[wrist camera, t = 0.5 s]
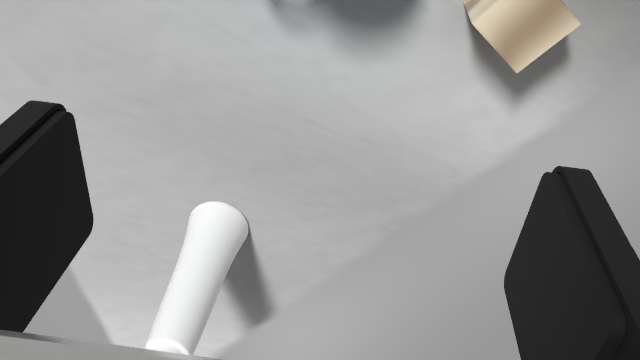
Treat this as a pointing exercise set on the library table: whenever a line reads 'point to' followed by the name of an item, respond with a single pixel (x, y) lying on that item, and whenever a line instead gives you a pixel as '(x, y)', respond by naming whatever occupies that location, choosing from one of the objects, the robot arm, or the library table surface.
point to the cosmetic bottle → (198, 277)
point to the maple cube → (521, 26)
